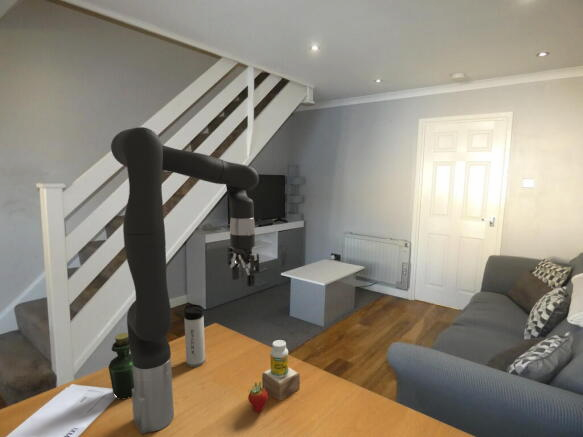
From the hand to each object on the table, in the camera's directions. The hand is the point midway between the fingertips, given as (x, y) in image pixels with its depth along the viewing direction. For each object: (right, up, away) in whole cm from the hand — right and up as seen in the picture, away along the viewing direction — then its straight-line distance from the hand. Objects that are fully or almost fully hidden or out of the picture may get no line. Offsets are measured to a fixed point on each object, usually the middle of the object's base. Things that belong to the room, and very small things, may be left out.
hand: (242, 282), depth 108 cm
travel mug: (-18, -30, +11) cm, 36 cm away
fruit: (+6, -33, -13) cm, 36 cm away
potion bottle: (-34, -32, -6) cm, 47 cm away
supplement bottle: (+12, -27, -4) cm, 29 cm away
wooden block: (+12, -32, -3) cm, 34 cm away
